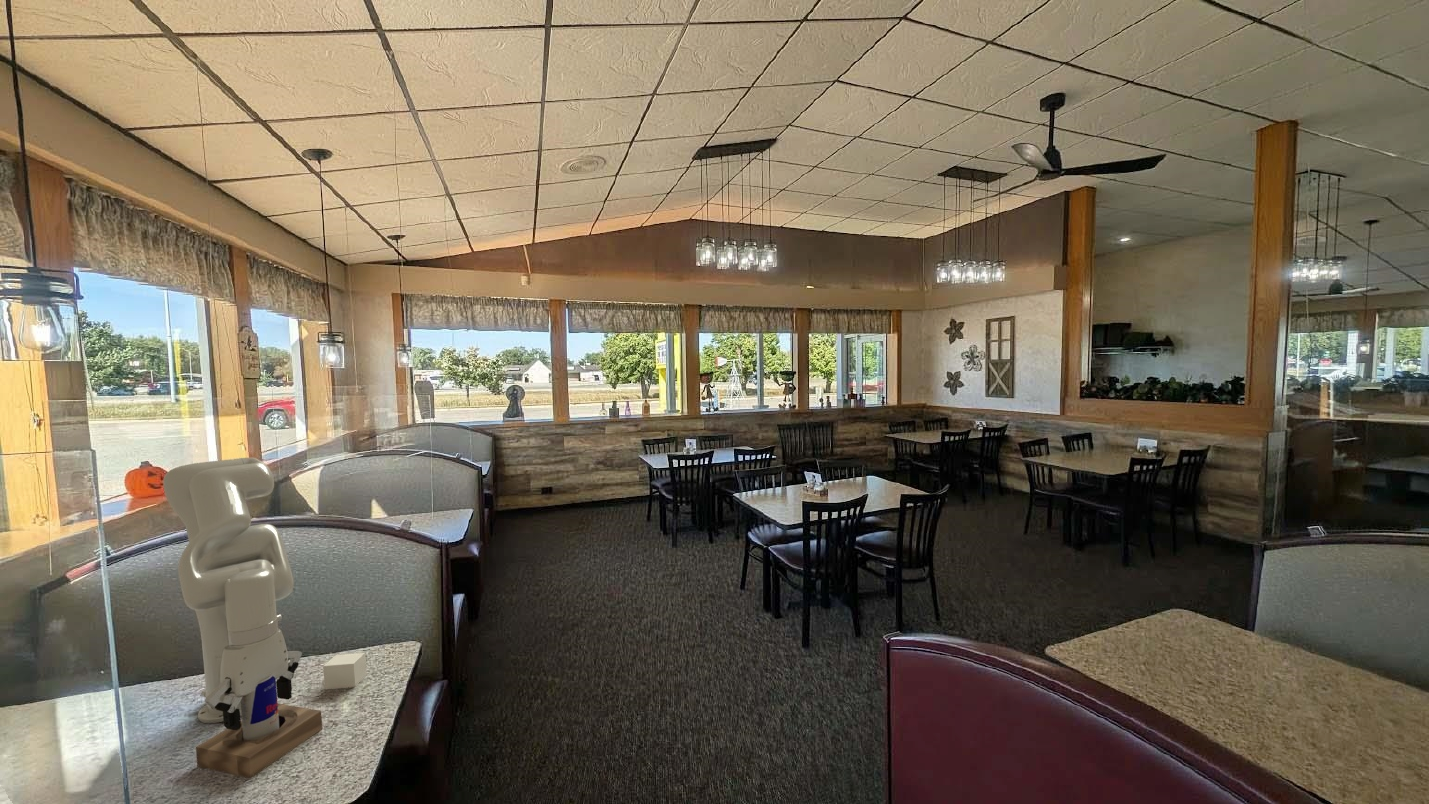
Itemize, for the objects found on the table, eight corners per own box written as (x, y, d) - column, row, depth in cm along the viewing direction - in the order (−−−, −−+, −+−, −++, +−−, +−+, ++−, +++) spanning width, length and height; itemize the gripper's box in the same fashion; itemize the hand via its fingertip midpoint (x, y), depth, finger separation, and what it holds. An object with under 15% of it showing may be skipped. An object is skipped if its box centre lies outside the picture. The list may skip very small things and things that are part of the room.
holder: (197, 766, 102) (195, 747, 102) (273, 719, 116) (271, 702, 115) (250, 778, 99) (249, 757, 98) (322, 728, 112) (321, 710, 112)
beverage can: (259, 758, 104) (253, 686, 103) (237, 754, 105) (231, 683, 104) (287, 738, 109) (282, 670, 109) (266, 735, 110) (260, 667, 110)
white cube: (324, 689, 127) (323, 666, 126) (337, 678, 132) (335, 655, 131) (355, 687, 127) (353, 663, 127) (366, 675, 132) (365, 652, 132)
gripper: (283, 611, 115) (289, 685, 116) (188, 652, 98) (196, 739, 99) (310, 614, 113) (315, 689, 114) (217, 656, 97) (225, 744, 97)
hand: (260, 712), depth 107 cm, fingers open, 9 cm apart
